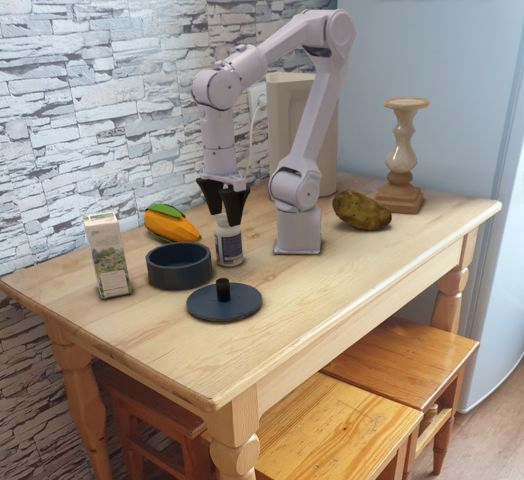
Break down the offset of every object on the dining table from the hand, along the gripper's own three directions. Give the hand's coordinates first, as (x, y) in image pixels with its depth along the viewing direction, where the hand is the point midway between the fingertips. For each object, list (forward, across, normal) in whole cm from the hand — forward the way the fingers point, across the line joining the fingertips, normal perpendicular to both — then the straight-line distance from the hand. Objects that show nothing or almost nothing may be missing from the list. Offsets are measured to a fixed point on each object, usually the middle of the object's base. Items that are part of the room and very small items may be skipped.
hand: (225, 219), depth 107 cm
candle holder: (+11, -8, +51) cm, 53 cm away
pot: (+10, -3, -9) cm, 14 cm away
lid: (+10, +12, -8) cm, 18 cm away
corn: (+10, -21, -3) cm, 23 cm away
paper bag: (+11, -32, +36) cm, 49 cm away
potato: (+11, -2, +35) cm, 37 cm away
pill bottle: (+10, -3, +2) cm, 11 cm away
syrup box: (+10, -5, -22) cm, 25 cm away
